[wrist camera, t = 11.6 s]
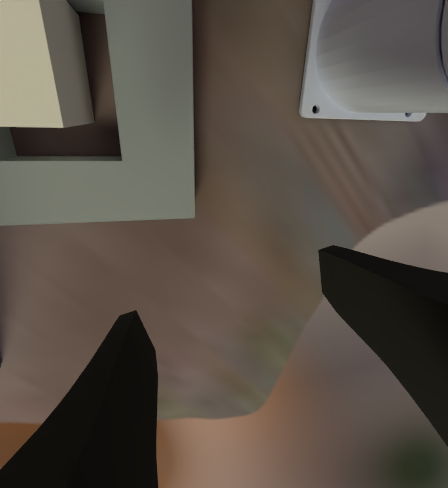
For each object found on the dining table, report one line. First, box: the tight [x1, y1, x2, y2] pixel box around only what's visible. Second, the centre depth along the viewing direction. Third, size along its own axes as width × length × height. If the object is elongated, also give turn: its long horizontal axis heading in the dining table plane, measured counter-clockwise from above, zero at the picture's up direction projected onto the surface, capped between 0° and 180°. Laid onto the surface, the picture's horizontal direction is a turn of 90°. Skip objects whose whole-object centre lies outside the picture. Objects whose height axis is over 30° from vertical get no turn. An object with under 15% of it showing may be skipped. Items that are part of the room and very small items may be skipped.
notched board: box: [0, 0, 195, 226], centre depth 14 cm, size 14×14×2 cm
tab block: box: [0, 0, 95, 128], centre depth 12 cm, size 3×5×6 cm, turn 178°
